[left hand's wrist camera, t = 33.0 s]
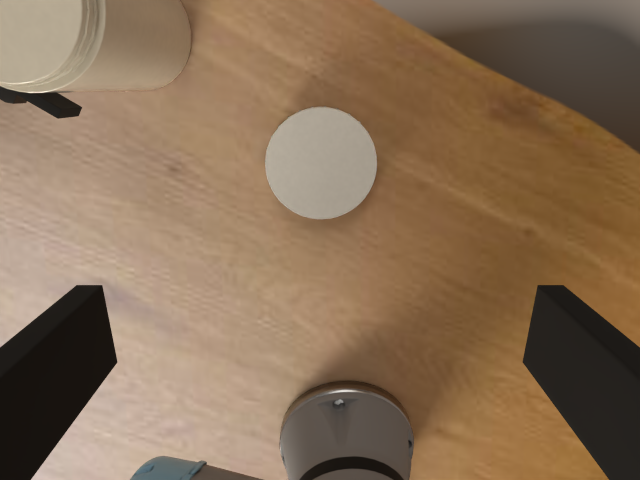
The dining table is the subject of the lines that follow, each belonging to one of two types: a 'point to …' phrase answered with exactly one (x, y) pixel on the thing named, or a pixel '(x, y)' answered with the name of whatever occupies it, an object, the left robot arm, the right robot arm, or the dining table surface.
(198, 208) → the dining table surface
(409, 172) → the dining table surface
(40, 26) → the jar
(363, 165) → the lid
